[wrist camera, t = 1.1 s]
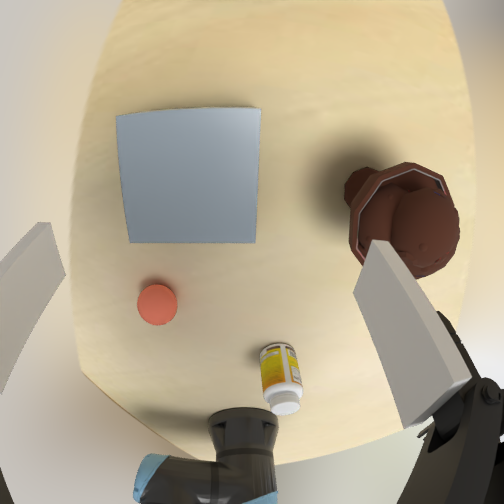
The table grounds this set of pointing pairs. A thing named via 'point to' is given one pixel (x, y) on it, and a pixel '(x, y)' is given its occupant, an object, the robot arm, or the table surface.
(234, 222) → the block
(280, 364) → the supplement bottle
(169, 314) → the ball
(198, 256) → the table surface
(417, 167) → the ice cream bowl
